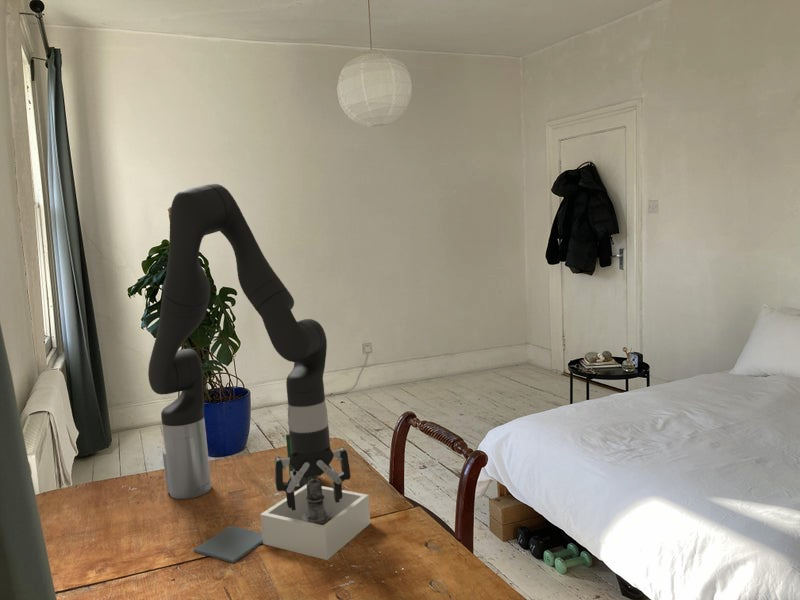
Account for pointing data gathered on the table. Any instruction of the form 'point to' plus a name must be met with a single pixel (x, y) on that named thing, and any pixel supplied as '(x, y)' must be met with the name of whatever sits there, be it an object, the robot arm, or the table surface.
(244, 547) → the mat
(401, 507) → the table surface
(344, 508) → the frame
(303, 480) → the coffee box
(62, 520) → the table surface
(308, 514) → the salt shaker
